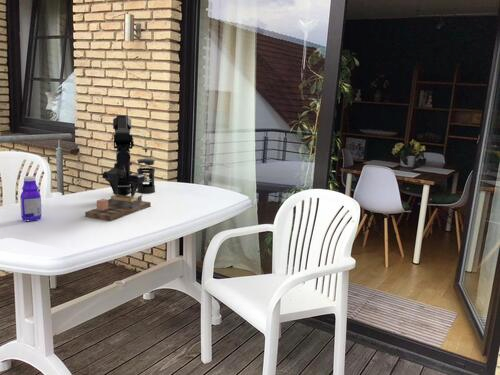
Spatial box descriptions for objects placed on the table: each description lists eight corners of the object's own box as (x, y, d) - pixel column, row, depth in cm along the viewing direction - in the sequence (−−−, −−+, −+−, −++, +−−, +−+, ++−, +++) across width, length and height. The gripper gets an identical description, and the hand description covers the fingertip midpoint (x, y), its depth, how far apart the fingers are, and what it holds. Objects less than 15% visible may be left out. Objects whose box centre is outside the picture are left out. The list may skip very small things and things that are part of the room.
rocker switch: (124, 200, 206) (123, 197, 205) (132, 194, 211) (131, 192, 210) (135, 201, 204) (134, 199, 203) (142, 196, 209) (142, 193, 208)
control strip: (85, 216, 189) (84, 204, 187) (127, 202, 214) (127, 192, 213) (110, 221, 184) (110, 208, 183) (150, 206, 209) (150, 195, 208)
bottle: (38, 216, 186) (36, 175, 182) (43, 219, 182) (41, 177, 178) (19, 219, 180) (16, 176, 177) (24, 223, 177) (22, 179, 173)
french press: (148, 194, 232) (148, 150, 227) (132, 192, 235) (132, 148, 230) (160, 190, 243) (160, 147, 238) (145, 188, 246) (145, 146, 241)
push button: (110, 201, 201) (110, 196, 201) (116, 199, 205) (116, 194, 204) (131, 204, 197) (131, 199, 197) (136, 202, 201) (136, 197, 200)
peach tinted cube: (96, 209, 191) (96, 200, 190) (102, 207, 194) (102, 198, 193) (102, 210, 190) (102, 201, 189) (108, 208, 193) (108, 199, 192)
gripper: (93, 160, 193) (94, 196, 196) (129, 165, 186) (130, 202, 190) (110, 157, 203) (111, 191, 207) (145, 161, 197) (145, 196, 200)
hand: (123, 195), depth 200 cm, fingers open, 9 cm apart
